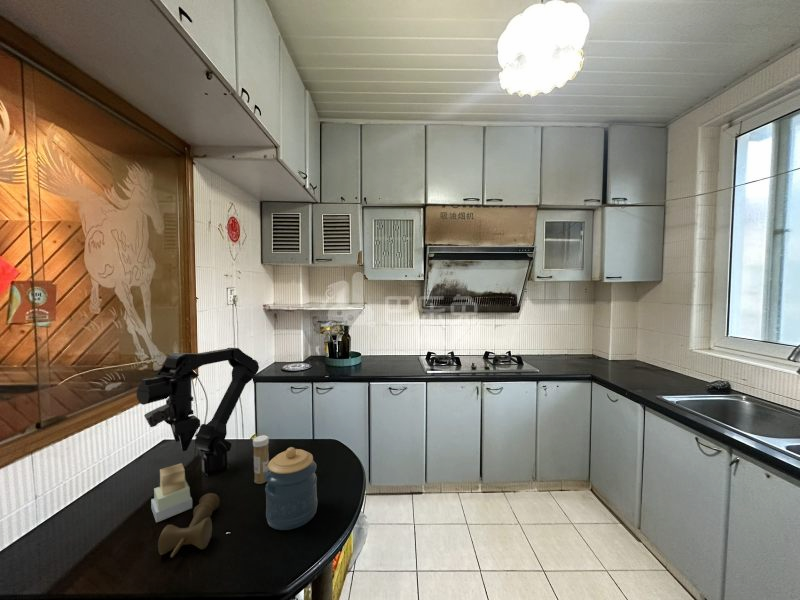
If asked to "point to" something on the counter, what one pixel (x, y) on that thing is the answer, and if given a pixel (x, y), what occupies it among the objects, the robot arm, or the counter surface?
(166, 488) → the maple cube
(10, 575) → the counter surface
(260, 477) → the sprinkles bottle
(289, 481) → the canister
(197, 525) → the kendama
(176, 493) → the sage block
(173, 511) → the base block
